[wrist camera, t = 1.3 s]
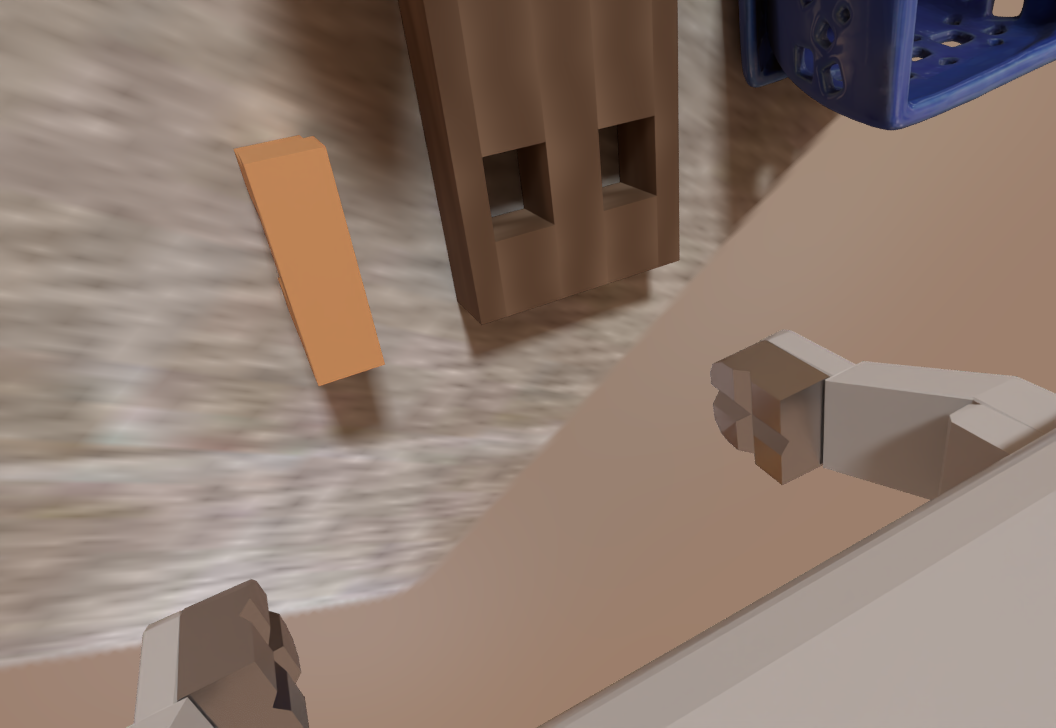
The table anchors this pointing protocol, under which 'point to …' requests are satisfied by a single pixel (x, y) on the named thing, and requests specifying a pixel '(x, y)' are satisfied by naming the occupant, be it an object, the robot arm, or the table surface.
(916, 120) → the flower pot
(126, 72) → the table surface
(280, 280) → the tan two-pronged block
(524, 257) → the block with square holes
